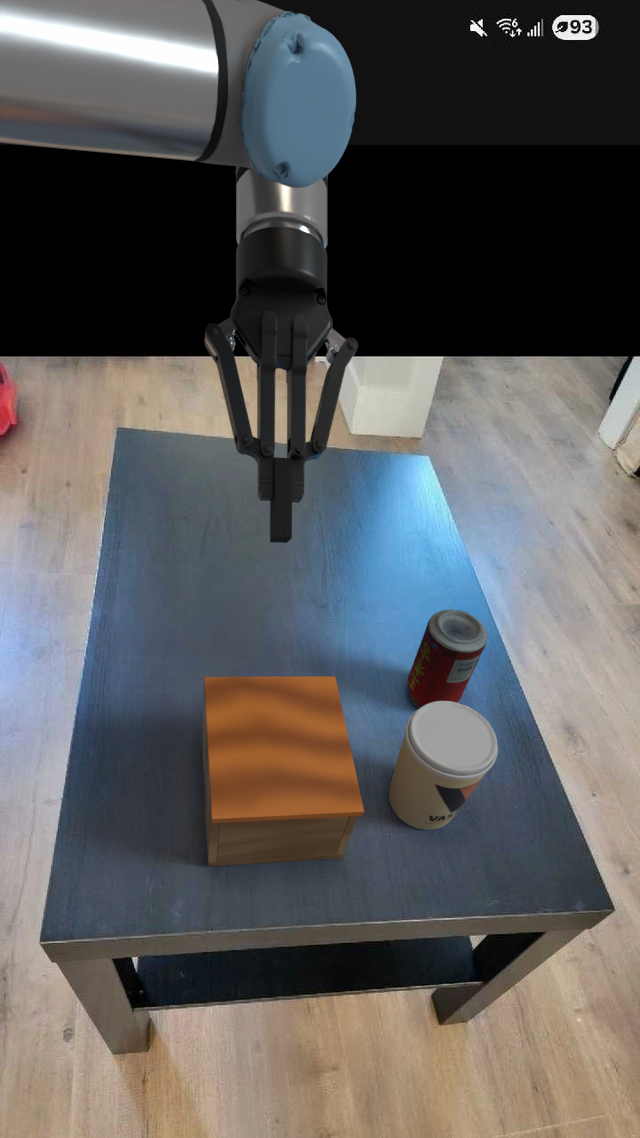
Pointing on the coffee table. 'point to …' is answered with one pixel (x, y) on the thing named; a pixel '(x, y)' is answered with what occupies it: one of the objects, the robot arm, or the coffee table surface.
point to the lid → (278, 750)
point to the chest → (271, 834)
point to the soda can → (446, 657)
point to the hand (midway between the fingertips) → (280, 539)
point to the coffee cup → (440, 763)
